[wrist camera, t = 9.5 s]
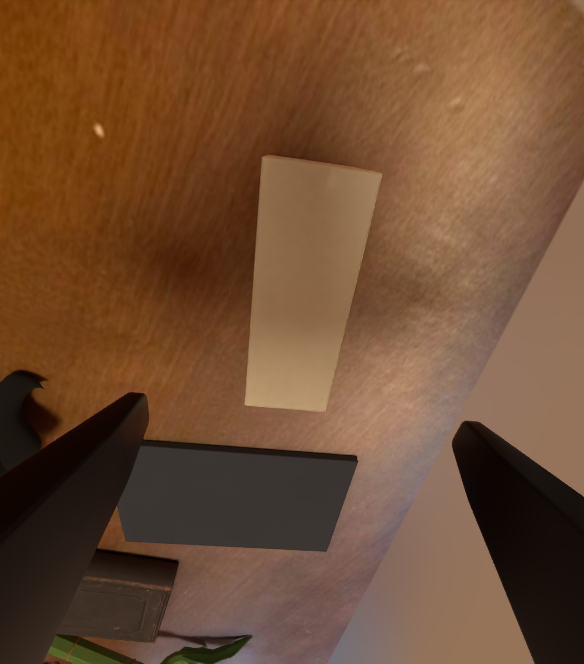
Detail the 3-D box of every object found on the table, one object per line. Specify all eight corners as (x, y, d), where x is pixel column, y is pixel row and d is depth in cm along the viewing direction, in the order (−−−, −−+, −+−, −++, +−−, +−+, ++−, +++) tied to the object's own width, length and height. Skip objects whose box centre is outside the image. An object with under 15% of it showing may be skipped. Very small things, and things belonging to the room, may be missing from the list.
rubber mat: (356, 455, 26) (358, 462, 26) (326, 545, 33) (326, 552, 32) (105, 437, 25) (101, 443, 24) (128, 535, 31) (125, 541, 31)
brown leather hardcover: (161, 619, 41) (154, 643, 39) (-37, 598, 38) (-55, 623, 36) (179, 560, 34) (173, 585, 32) (-65, 524, 30) (-90, 551, 28)
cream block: (383, 173, 12) (325, 412, 18) (359, 167, 16) (318, 365, 21) (261, 155, 11) (244, 405, 17) (267, 154, 15) (252, 358, 21)
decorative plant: (8, 627, 36) (248, 726, 37) (65, 557, 44) (262, 639, 45) (3, 656, 38) (231, 750, 39) (59, 585, 46) (248, 663, 46)
